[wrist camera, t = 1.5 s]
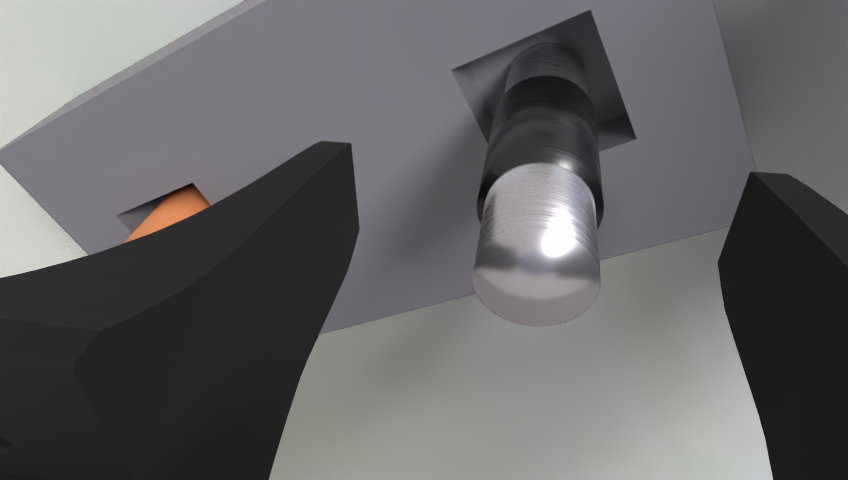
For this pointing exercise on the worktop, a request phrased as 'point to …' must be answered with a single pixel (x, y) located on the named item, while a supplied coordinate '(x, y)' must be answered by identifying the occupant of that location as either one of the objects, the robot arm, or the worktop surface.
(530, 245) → the toggle switch lever
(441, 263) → the grey block
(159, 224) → the button
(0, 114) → the worktop surface
